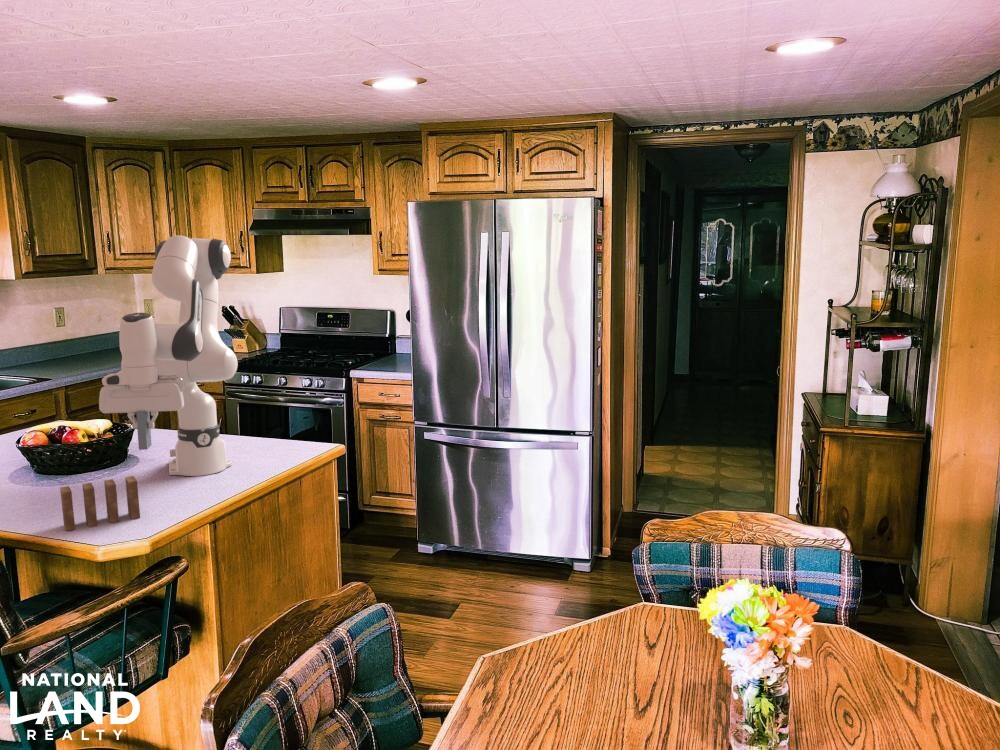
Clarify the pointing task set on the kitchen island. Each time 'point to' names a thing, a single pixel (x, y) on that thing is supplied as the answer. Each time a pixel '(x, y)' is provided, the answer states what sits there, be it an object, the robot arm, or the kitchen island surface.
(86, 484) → the domino
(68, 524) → the domino
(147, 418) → the slate domino
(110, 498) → the domino
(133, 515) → the domino
